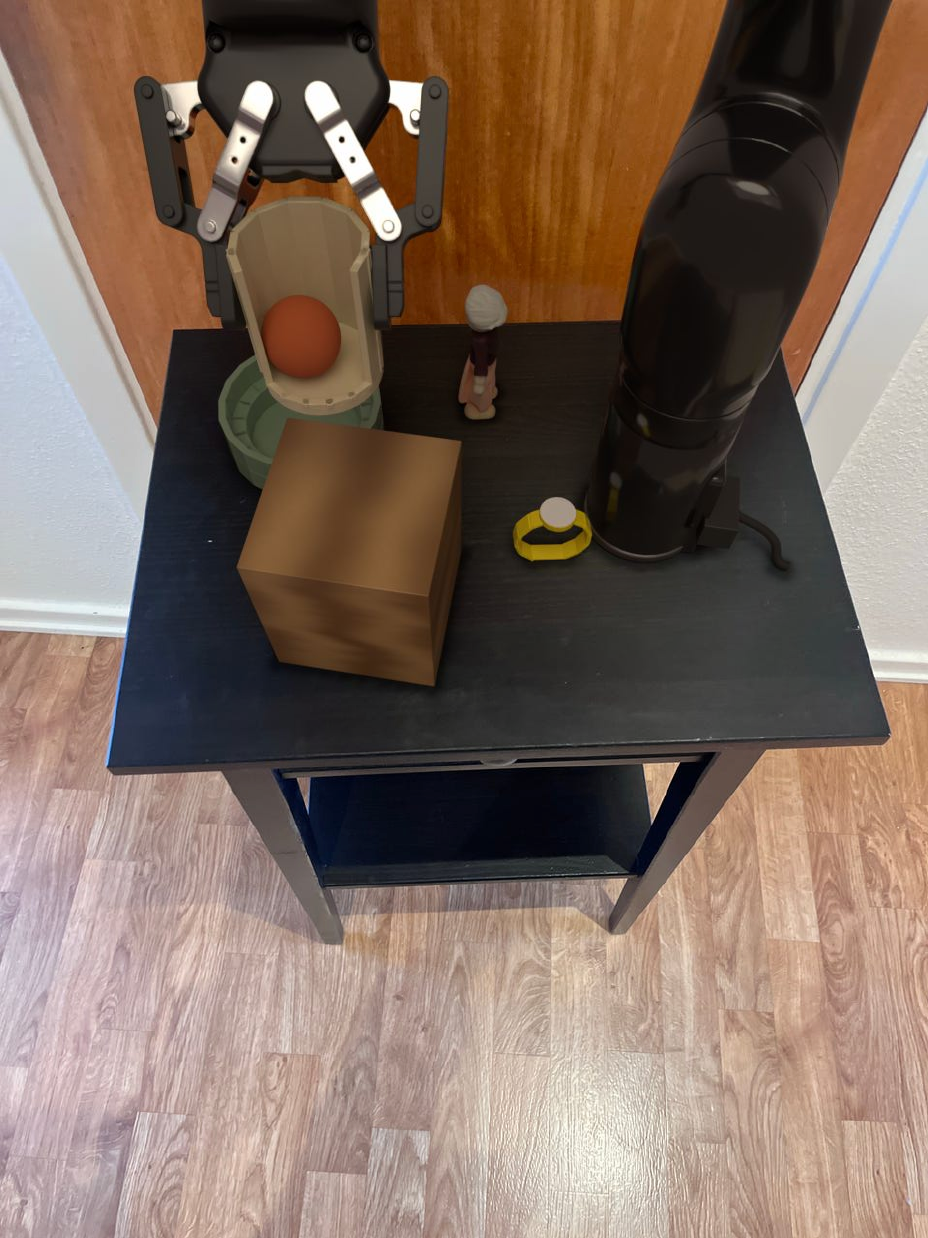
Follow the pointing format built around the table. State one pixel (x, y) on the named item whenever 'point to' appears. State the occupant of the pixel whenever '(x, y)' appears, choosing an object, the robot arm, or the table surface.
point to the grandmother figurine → (482, 351)
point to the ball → (301, 336)
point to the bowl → (272, 420)
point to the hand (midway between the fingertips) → (309, 328)
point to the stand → (357, 549)
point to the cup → (311, 294)
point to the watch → (558, 519)
